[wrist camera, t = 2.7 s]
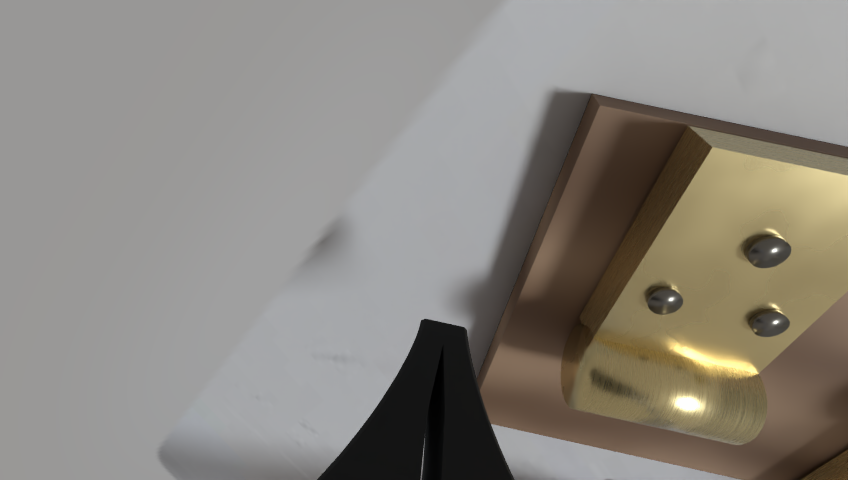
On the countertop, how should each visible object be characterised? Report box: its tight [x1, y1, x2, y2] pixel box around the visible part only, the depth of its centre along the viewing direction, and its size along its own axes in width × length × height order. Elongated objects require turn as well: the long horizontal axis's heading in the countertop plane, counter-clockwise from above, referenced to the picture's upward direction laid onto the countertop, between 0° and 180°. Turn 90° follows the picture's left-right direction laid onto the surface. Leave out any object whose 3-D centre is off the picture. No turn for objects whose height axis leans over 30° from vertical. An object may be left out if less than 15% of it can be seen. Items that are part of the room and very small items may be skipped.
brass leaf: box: [561, 126, 848, 445], centre depth 13 cm, size 11×6×3 cm, turn 171°
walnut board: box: [477, 94, 848, 480], centre depth 17 cm, size 17×24×1 cm
